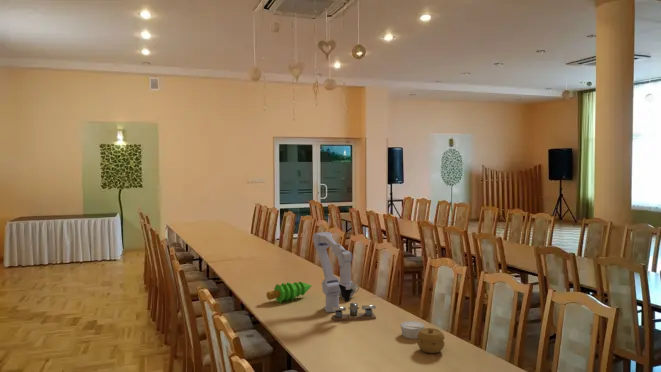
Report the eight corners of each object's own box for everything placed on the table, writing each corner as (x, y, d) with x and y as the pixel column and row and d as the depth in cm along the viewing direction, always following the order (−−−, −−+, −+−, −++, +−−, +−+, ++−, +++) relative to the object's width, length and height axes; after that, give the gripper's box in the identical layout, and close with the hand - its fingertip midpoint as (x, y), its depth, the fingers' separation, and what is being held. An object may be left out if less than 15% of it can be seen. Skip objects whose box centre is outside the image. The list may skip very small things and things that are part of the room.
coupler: (347, 314, 257) (347, 303, 256) (358, 313, 258) (358, 302, 258) (349, 316, 253) (349, 305, 252) (360, 316, 254) (360, 304, 254)
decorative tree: (265, 282, 283) (309, 273, 300) (263, 298, 287) (306, 288, 304) (274, 293, 275) (318, 283, 291) (271, 310, 279) (315, 299, 296)
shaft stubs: (331, 315, 255) (331, 306, 255) (374, 313, 259) (374, 303, 259) (332, 318, 252) (332, 308, 251) (376, 315, 255) (376, 306, 255)
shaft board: (332, 317, 257) (332, 314, 257) (372, 314, 261) (372, 311, 260) (334, 321, 250) (334, 318, 250) (375, 318, 254) (375, 316, 254)
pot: (440, 345, 217) (440, 323, 216) (447, 356, 205) (448, 332, 204) (414, 346, 216) (414, 324, 216) (420, 356, 205) (420, 333, 204)
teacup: (340, 302, 284) (340, 288, 283) (332, 296, 295) (332, 283, 295) (363, 298, 290) (363, 285, 289) (354, 293, 301) (354, 280, 301)
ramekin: (406, 341, 222) (406, 330, 222) (396, 332, 233) (396, 322, 233) (428, 338, 225) (428, 327, 225) (417, 330, 236) (417, 319, 236)
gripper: (355, 277, 249) (355, 303, 250) (350, 270, 263) (350, 295, 264) (342, 277, 248) (342, 304, 249) (337, 271, 262) (337, 296, 263)
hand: (345, 299), depth 256 cm, fingers open, 7 cm apart
